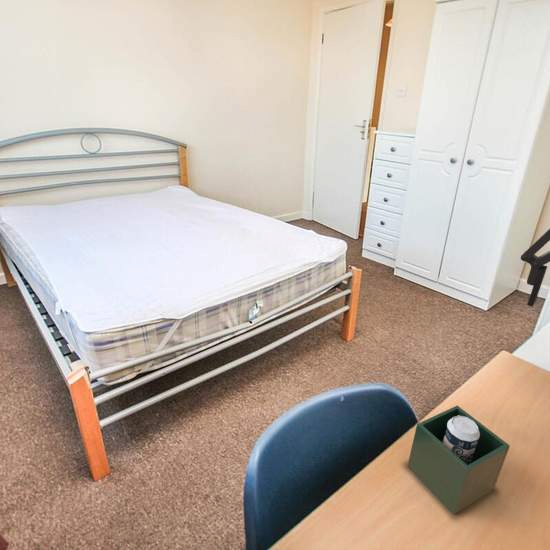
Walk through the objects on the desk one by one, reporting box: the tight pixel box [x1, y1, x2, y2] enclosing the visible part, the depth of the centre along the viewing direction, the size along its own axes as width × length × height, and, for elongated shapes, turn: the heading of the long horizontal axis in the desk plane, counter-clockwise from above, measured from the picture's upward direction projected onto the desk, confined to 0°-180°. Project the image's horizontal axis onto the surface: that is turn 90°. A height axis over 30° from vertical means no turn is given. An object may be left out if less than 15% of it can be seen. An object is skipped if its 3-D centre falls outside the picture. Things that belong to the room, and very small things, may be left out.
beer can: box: [443, 415, 480, 465], centre depth 63 cm, size 5×5×12 cm
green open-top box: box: [407, 405, 511, 515], centre depth 64 cm, size 10×10×11 cm
